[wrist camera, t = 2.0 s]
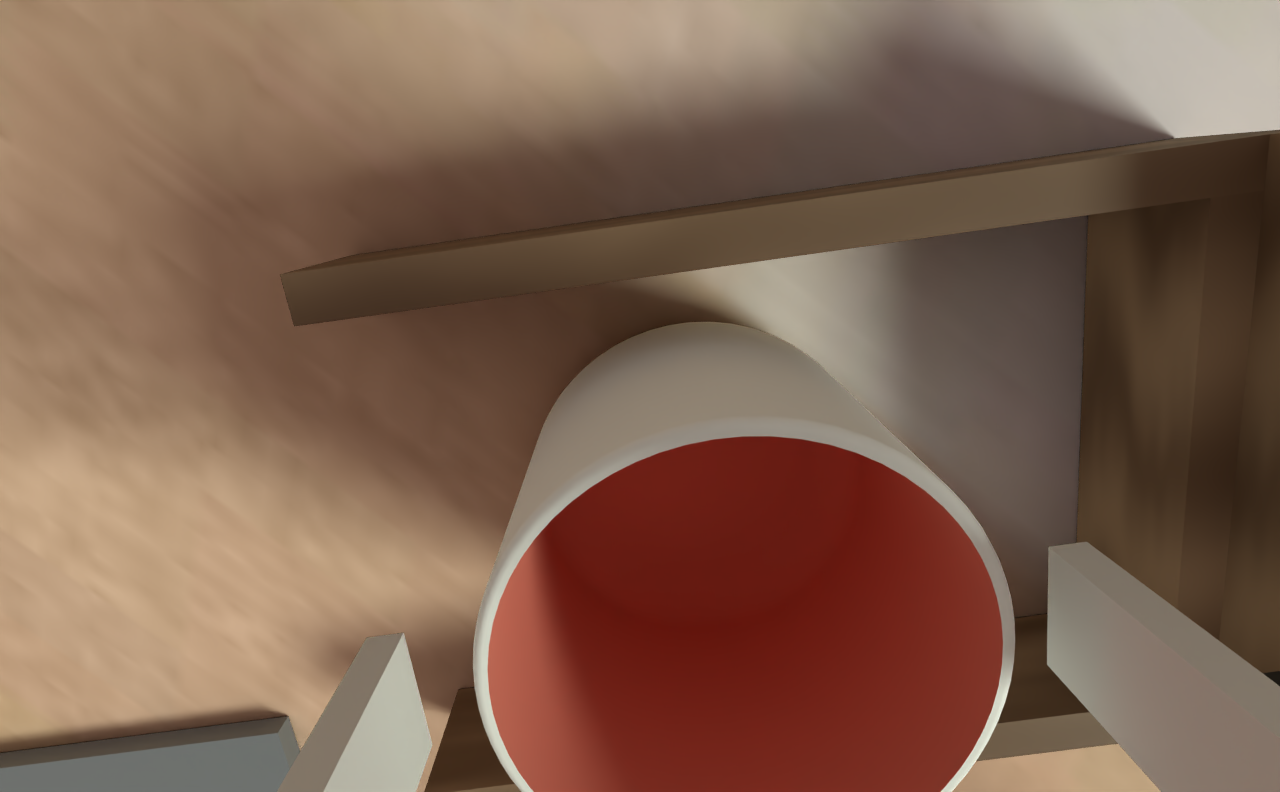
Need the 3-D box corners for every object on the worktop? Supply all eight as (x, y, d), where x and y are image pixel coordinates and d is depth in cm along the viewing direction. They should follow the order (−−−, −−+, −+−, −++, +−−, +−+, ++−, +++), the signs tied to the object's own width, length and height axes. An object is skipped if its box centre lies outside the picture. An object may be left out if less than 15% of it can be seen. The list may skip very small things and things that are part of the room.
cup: (471, 439, 23) (355, 630, 13) (739, 244, 21) (833, 297, 11) (659, 661, 25) (679, 962, 15) (913, 501, 23) (1112, 724, 14)
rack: (351, 255, 21) (191, 297, 13) (1176, 138, 20) (1510, 111, 13) (465, 718, 25) (395, 950, 18) (1143, 631, 25) (1375, 833, 17)
